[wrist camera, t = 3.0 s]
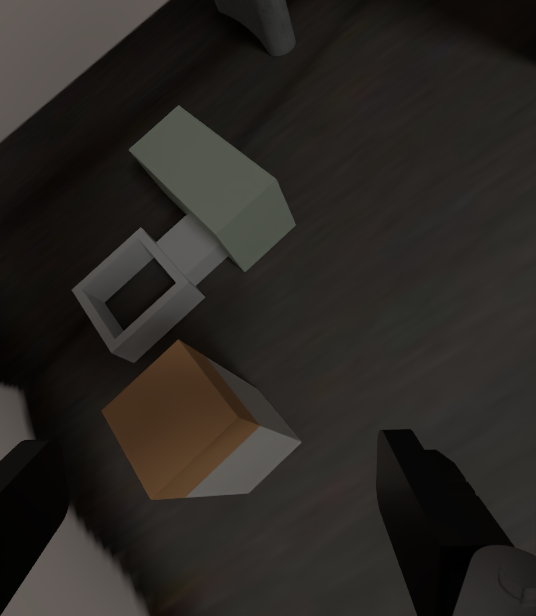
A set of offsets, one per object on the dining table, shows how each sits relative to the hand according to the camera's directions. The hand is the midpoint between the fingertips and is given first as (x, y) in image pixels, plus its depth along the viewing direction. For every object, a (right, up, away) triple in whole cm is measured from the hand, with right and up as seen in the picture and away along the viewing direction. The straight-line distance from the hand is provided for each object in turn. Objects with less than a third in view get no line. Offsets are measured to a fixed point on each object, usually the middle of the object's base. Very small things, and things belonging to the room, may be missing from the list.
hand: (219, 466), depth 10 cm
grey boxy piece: (-7, +9, +27) cm, 30 cm away
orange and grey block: (0, -5, +19) cm, 19 cm away
